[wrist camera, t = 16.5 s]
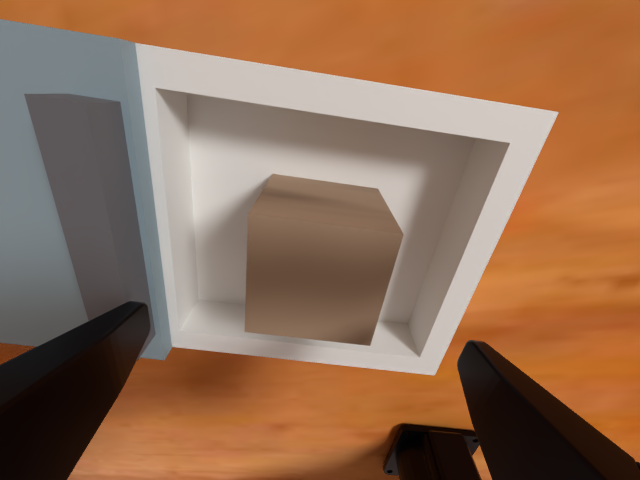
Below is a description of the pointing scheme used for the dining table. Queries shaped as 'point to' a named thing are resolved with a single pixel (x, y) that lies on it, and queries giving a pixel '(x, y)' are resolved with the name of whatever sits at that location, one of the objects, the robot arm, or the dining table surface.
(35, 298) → the sliding cover
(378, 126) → the white sliding-lid box
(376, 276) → the walnut block
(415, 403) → the dining table surface
